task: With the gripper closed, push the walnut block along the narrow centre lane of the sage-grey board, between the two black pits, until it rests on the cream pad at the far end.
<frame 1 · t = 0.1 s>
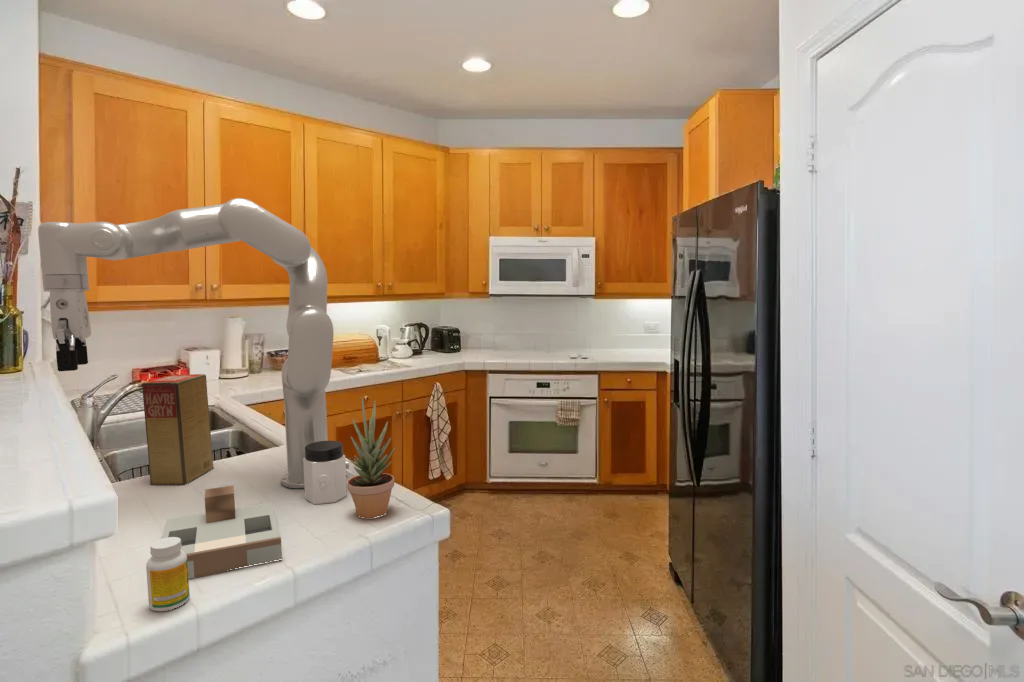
hand: (73, 367, 123), 31 cm above the counter, tool pointing down, fingers open, 9 cm apart
potted plant: (371, 514, 124), on the counter
supplement bottle: (170, 604, 91), on the counter
food packaging: (183, 477, 150), on the counter
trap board: (221, 546, 110), on the counter
jar: (326, 498, 134), on the counter
walnut block: (221, 516, 116), point 3 cm above the counter, touching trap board
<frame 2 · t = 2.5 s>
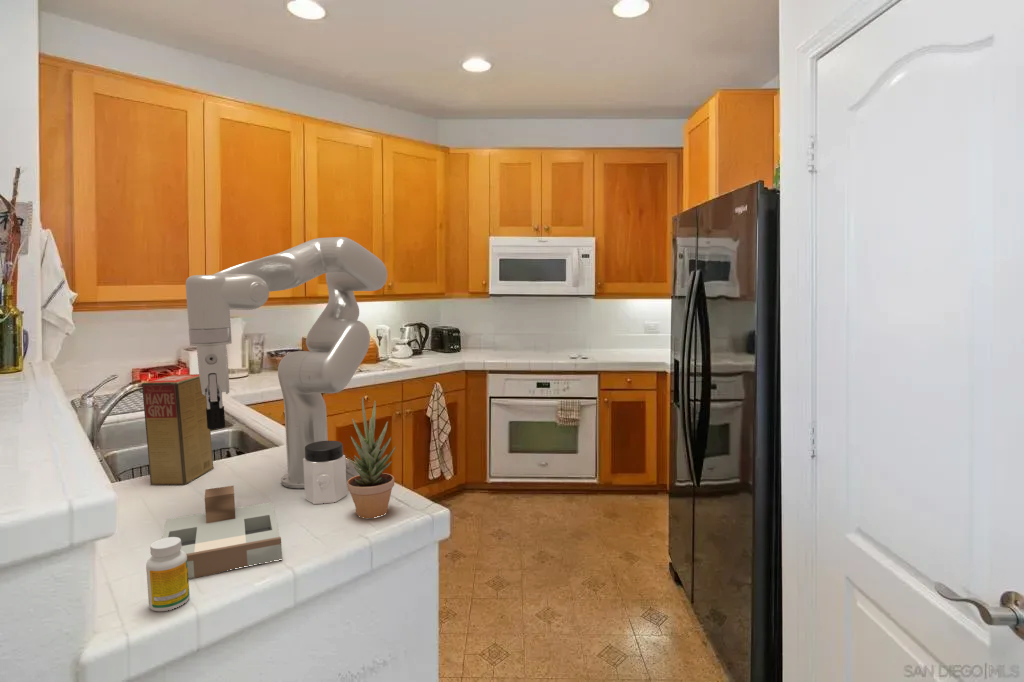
hand: (216, 426, 121), 19 cm above the counter, tool pointing down, fingers closed
nothing on the counter moved.
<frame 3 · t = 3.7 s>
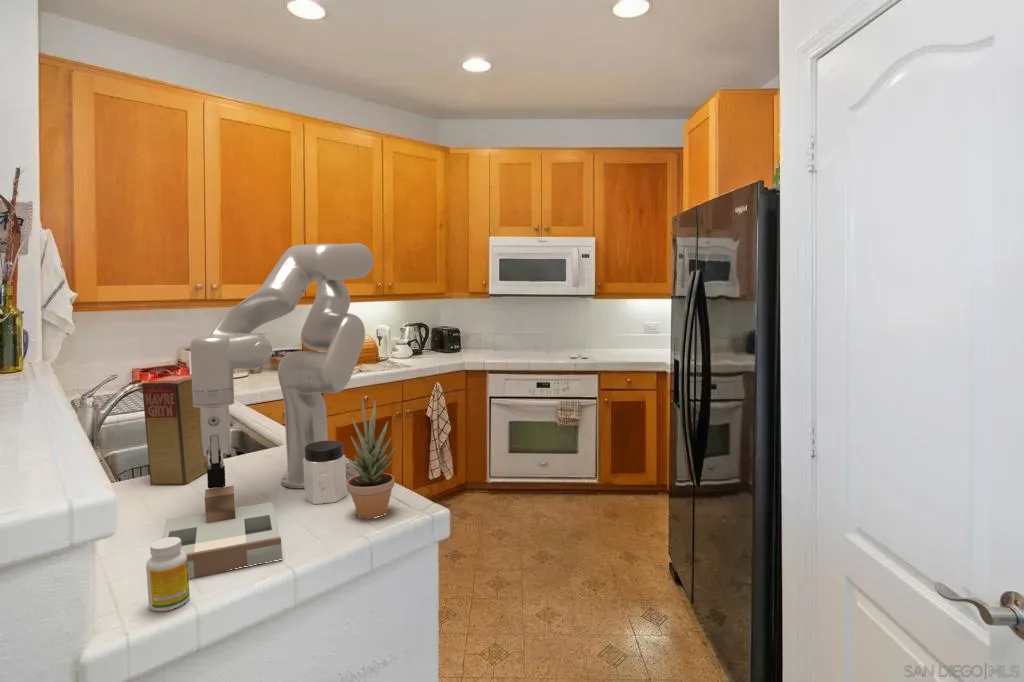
hand: (216, 486, 122), 7 cm above the counter, tool pointing down, fingers closed
nothing on the counter moved.
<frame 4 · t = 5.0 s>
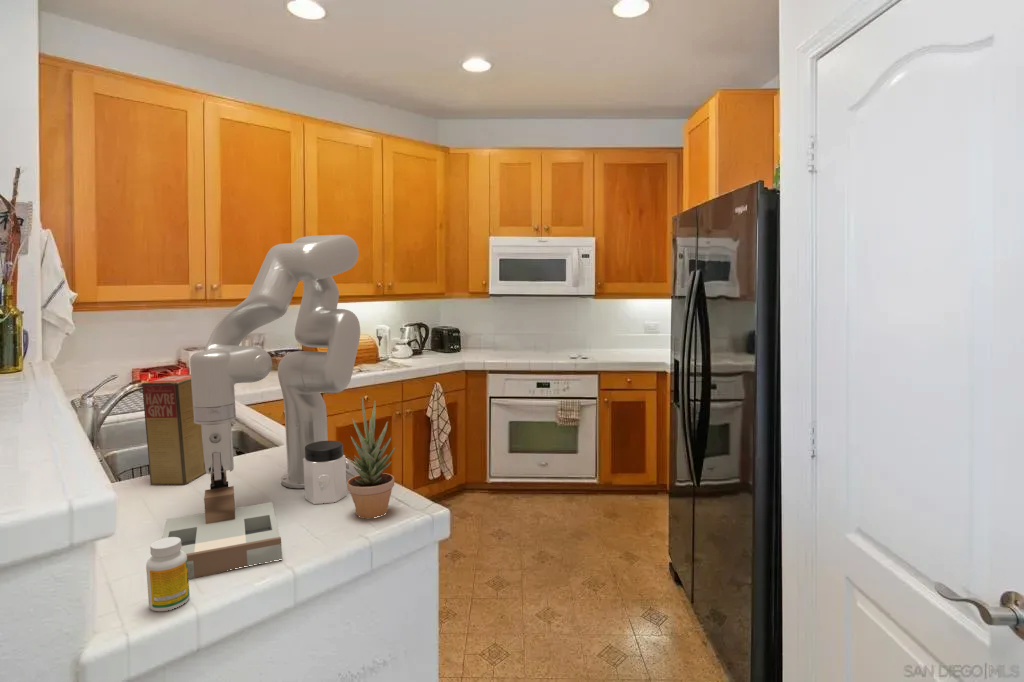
hand: (220, 502, 120), 4 cm above the counter, tool pointing down, fingers closed
walnut block: (220, 516, 116), point 3 cm above the counter, touching gripper
everything else where it was.
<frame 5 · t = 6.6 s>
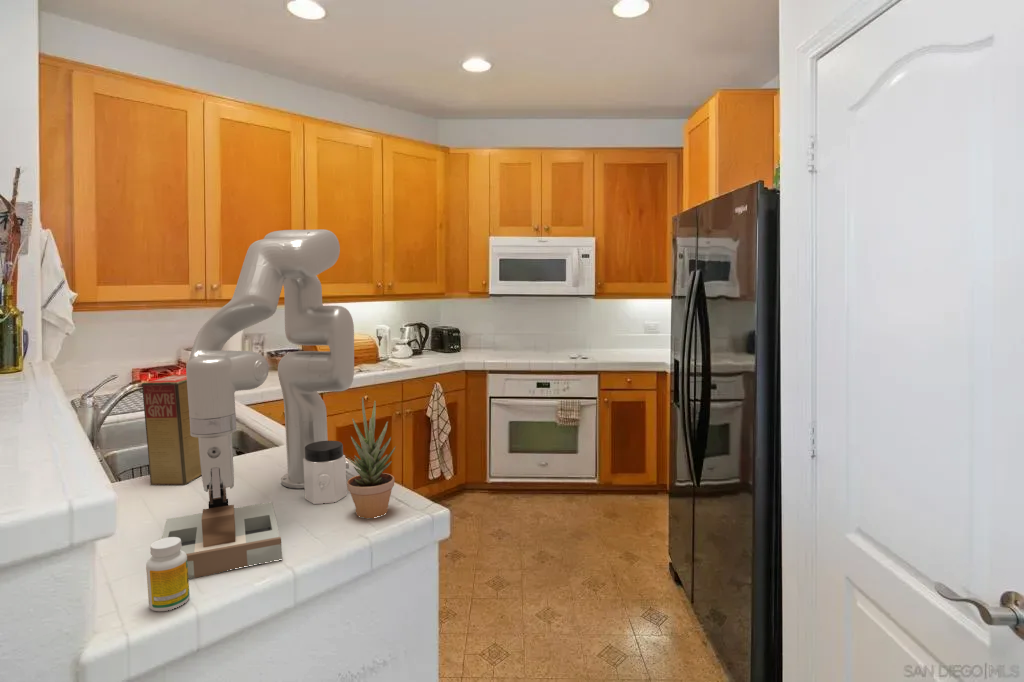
hand: (219, 521, 110), 4 cm above the counter, tool pointing down, fingers closed
walnut block: (219, 538, 106), point 3 cm above the counter, touching gripper
everything else where it was.
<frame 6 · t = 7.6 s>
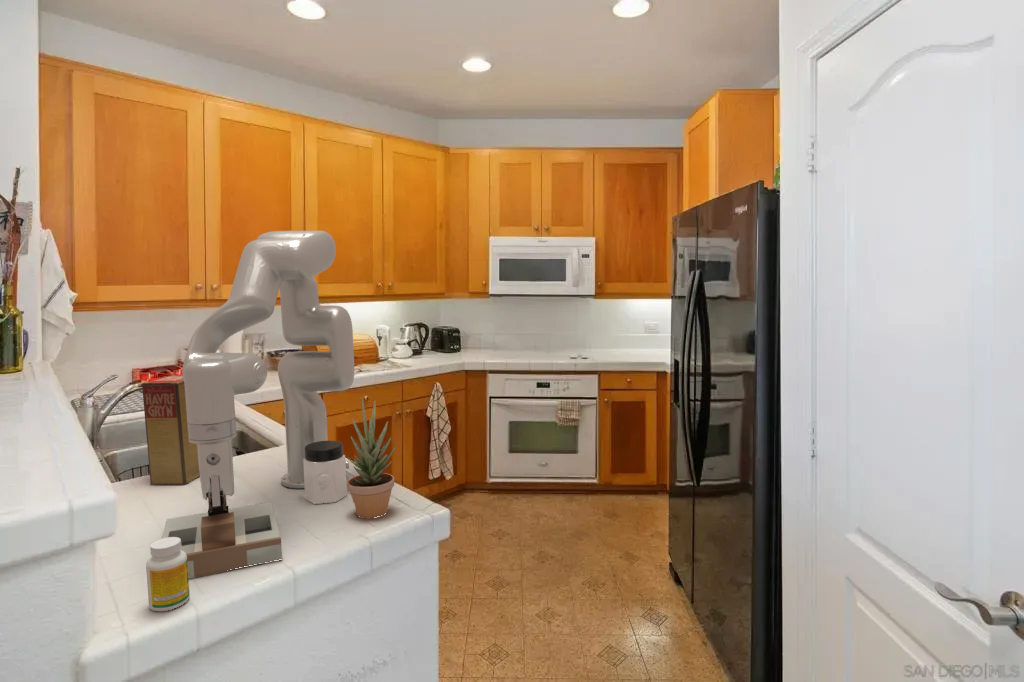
hand: (219, 530, 107), 4 cm above the counter, tool pointing down, fingers closed
walnut block: (219, 547, 102), point 3 cm above the counter, touching gripper, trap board
everything else where it was.
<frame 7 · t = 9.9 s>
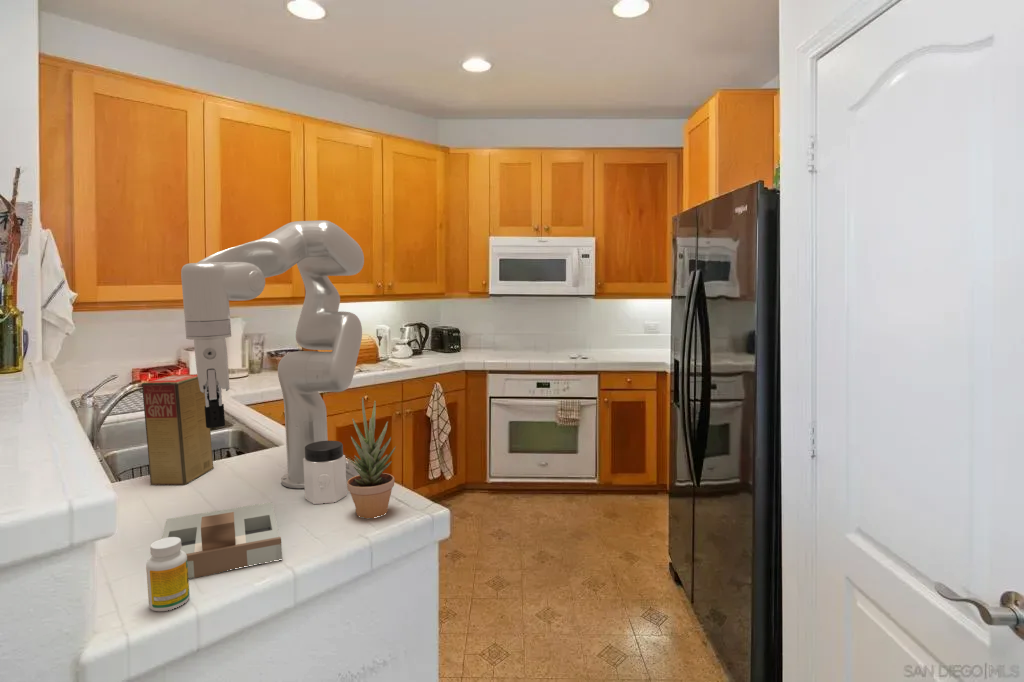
hand: (215, 426, 113), 21 cm above the counter, tool pointing down, fingers closed
walnut block: (219, 547, 102), point 3 cm above the counter, touching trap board
everything else where it was.
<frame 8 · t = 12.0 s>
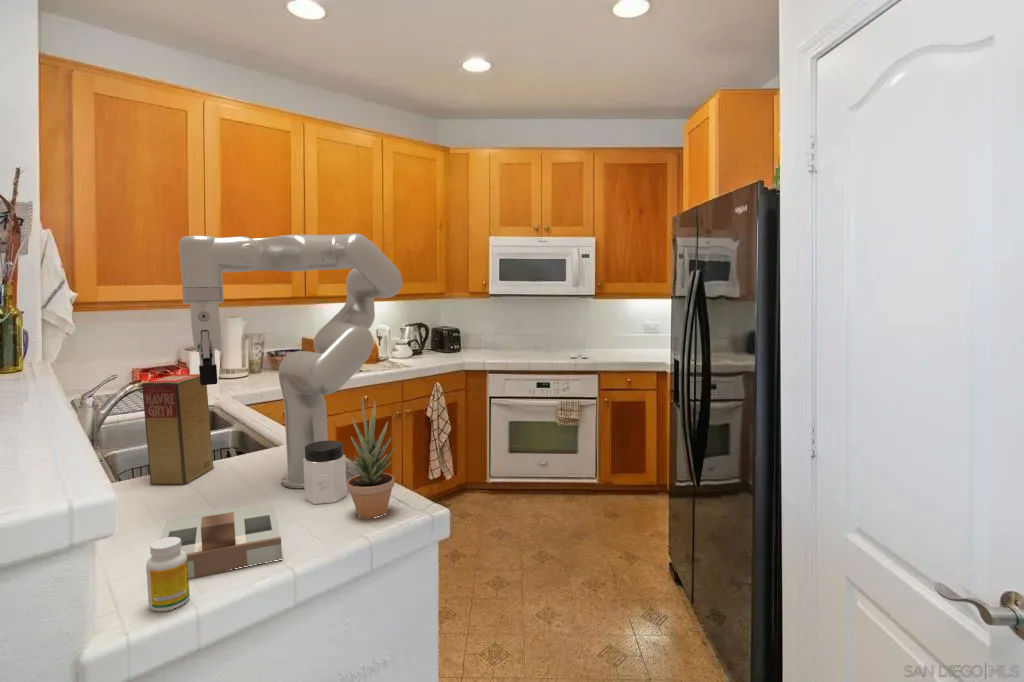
hand: (209, 383, 125), 27 cm above the counter, tool pointing down, fingers closed
nothing on the counter moved.
at the end: walnut block 1.2 cm from the target spot on the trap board, point 3.0 cm above the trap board's base; walnut block tilted 0° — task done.
